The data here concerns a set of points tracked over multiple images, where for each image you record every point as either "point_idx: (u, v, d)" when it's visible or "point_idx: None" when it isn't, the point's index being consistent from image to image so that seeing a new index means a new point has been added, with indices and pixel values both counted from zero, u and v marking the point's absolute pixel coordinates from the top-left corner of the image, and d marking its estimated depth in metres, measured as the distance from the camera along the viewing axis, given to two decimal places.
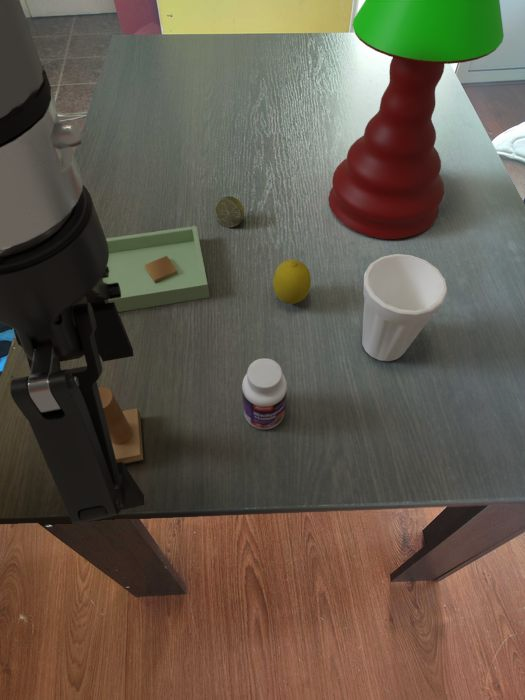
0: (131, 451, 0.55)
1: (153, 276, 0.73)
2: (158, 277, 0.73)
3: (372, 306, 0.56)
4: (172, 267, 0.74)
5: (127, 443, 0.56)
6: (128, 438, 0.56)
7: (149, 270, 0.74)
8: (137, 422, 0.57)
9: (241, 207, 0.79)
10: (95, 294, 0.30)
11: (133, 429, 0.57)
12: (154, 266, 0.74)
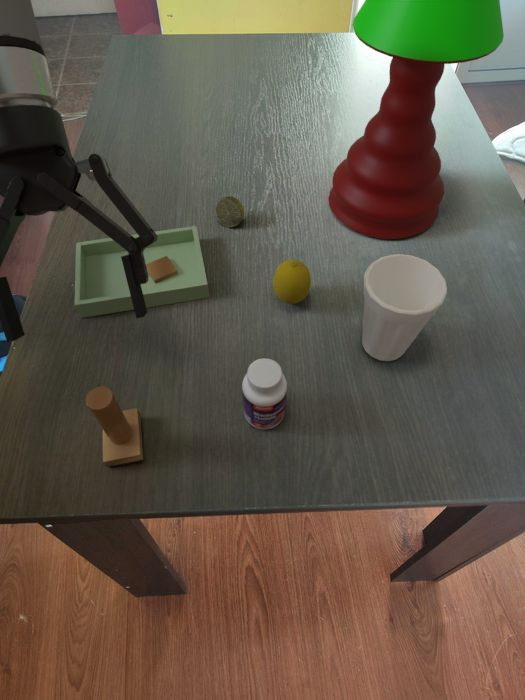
0: (131, 451, 0.55)
1: (153, 276, 0.73)
2: (158, 277, 0.73)
3: (372, 306, 0.56)
4: (172, 267, 0.74)
5: (127, 443, 0.56)
6: (128, 438, 0.56)
7: (149, 270, 0.74)
8: (137, 422, 0.57)
9: (241, 207, 0.79)
10: (24, 216, 0.48)
11: (133, 429, 0.57)
12: (154, 266, 0.74)
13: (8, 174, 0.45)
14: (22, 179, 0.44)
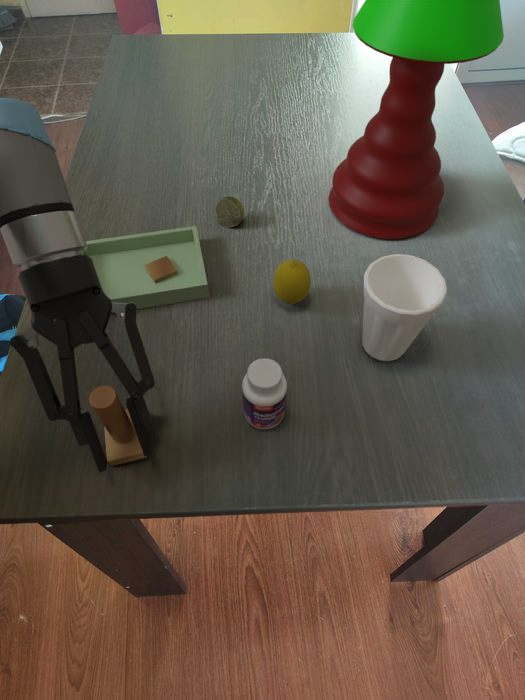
0: (135, 449, 0.55)
1: (153, 276, 0.73)
2: (158, 277, 0.73)
3: (372, 306, 0.56)
4: (172, 267, 0.74)
5: (130, 441, 0.56)
6: (131, 436, 0.56)
7: (149, 270, 0.74)
8: None
9: (241, 207, 0.79)
10: (73, 348, 0.52)
11: None
12: (154, 266, 0.74)
13: (45, 313, 0.49)
14: (61, 318, 0.49)
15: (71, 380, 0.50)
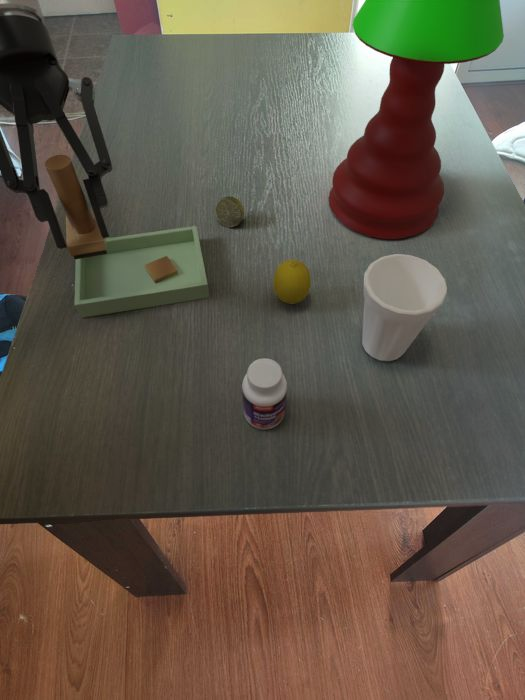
0: (94, 238, 0.57)
1: (153, 276, 0.73)
2: (158, 277, 0.73)
3: (372, 306, 0.56)
4: (172, 267, 0.74)
5: (90, 233, 0.58)
6: (91, 228, 0.58)
7: (149, 270, 0.74)
8: None
9: (241, 207, 0.79)
10: (32, 127, 0.54)
11: (96, 223, 0.59)
12: (154, 266, 0.74)
13: (2, 78, 0.50)
14: None
15: (29, 149, 0.52)
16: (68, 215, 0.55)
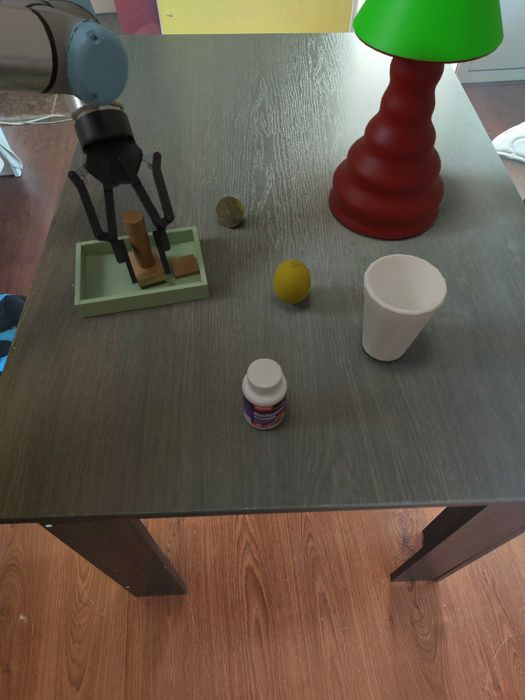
0: (157, 271, 0.71)
1: (175, 272, 0.74)
2: (179, 274, 0.73)
3: (372, 306, 0.56)
4: (195, 266, 0.74)
5: (153, 267, 0.72)
6: (153, 263, 0.72)
7: (172, 265, 0.74)
8: (157, 254, 0.74)
9: (241, 207, 0.79)
10: None
11: (155, 258, 0.73)
12: (178, 262, 0.75)
13: (93, 155, 0.65)
14: None
15: (112, 208, 0.66)
16: (137, 255, 0.70)
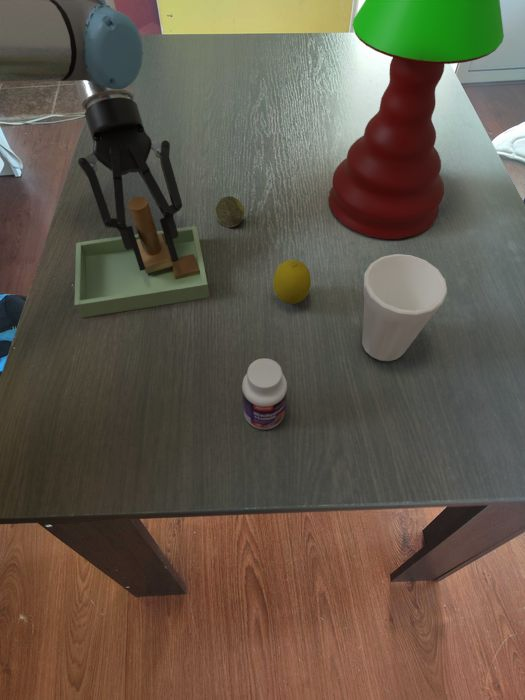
0: (164, 258, 0.73)
1: (175, 272, 0.74)
2: (179, 274, 0.73)
3: (372, 306, 0.56)
4: (195, 266, 0.74)
5: (159, 253, 0.73)
6: (159, 249, 0.73)
7: (173, 265, 0.74)
8: (163, 241, 0.75)
9: (241, 207, 0.79)
10: None
11: (161, 245, 0.74)
12: (178, 262, 0.75)
13: (103, 142, 0.66)
14: None
15: (121, 195, 0.67)
16: (143, 242, 0.71)
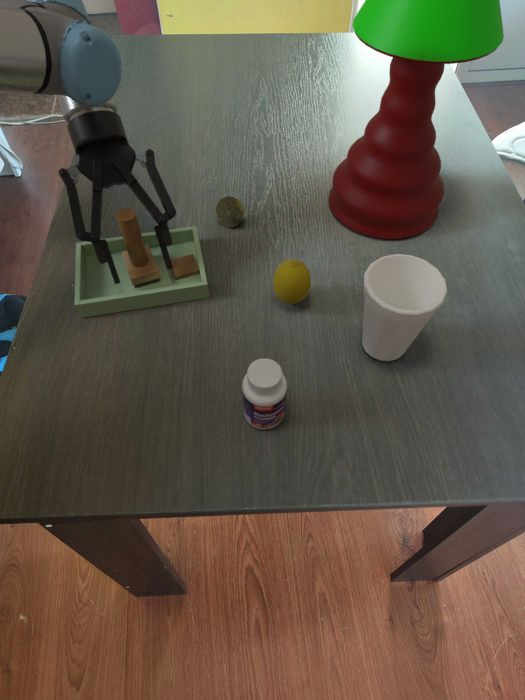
0: (151, 270, 0.72)
1: (175, 272, 0.74)
2: (179, 274, 0.73)
3: (372, 306, 0.56)
4: (195, 266, 0.74)
5: (146, 265, 0.72)
6: (146, 261, 0.72)
7: None
8: (150, 252, 0.74)
9: (241, 207, 0.79)
10: None
11: (149, 257, 0.73)
12: (178, 262, 0.75)
13: (87, 156, 0.65)
14: (99, 160, 0.65)
15: (98, 209, 0.66)
16: (130, 253, 0.70)
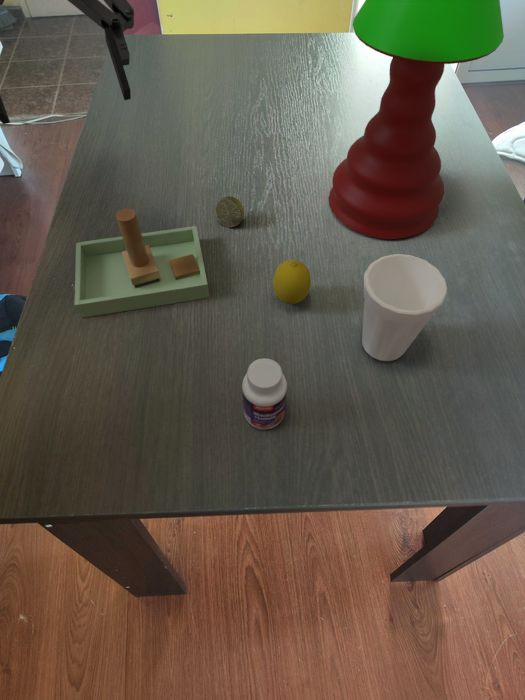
0: (151, 270, 0.72)
1: (175, 272, 0.74)
2: (179, 274, 0.73)
3: (372, 306, 0.56)
4: (195, 266, 0.74)
5: (146, 265, 0.72)
6: (146, 261, 0.72)
7: (172, 266, 0.74)
8: (150, 252, 0.74)
9: (241, 207, 0.79)
10: None
11: (149, 257, 0.73)
12: (178, 262, 0.75)
13: None
14: None
15: None
16: (130, 253, 0.70)
